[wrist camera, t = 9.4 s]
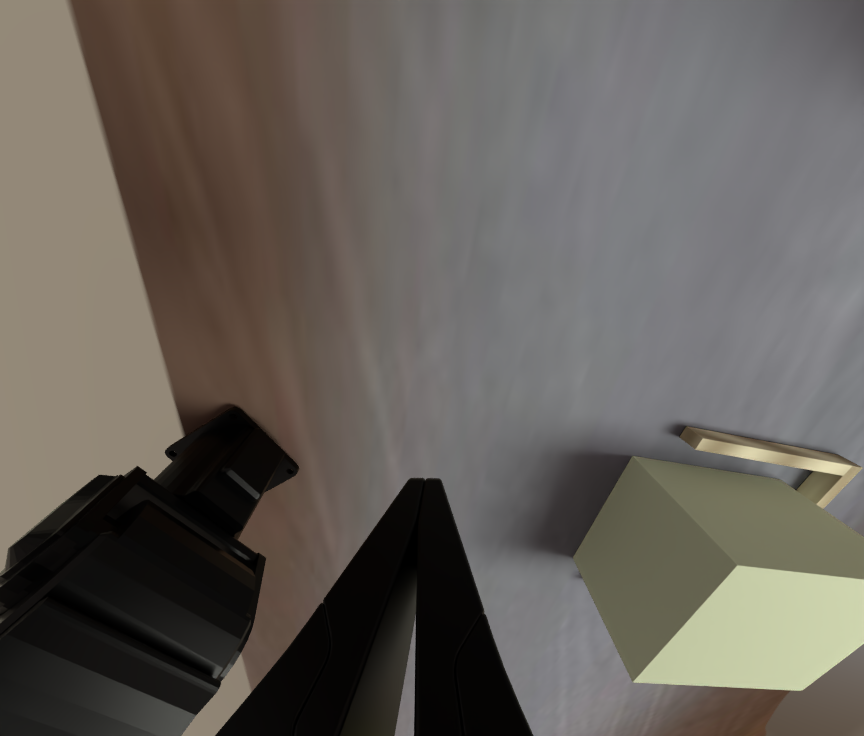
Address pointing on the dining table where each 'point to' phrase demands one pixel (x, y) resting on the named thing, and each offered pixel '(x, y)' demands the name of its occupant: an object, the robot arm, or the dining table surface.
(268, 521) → the dining table surface
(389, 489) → the dining table surface
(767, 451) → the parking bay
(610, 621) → the sage box
